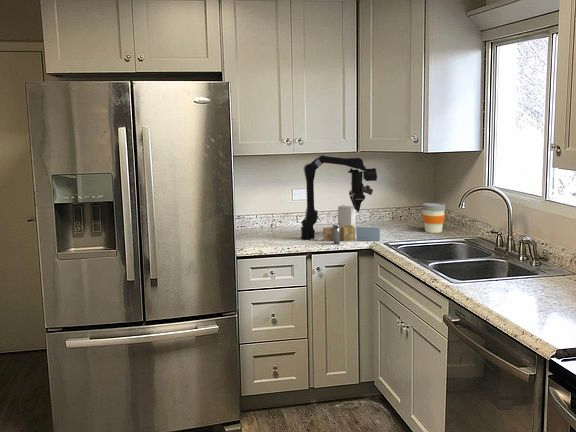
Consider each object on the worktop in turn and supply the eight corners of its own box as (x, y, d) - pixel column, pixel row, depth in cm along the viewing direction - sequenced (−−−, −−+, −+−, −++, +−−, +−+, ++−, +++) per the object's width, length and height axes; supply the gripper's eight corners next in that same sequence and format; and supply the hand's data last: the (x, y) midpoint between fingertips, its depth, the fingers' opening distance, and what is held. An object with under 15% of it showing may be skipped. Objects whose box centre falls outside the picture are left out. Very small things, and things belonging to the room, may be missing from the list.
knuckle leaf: (324, 242, 319) (324, 228, 318) (322, 239, 325) (322, 226, 324) (355, 240, 321) (354, 227, 320) (352, 238, 327) (352, 225, 326)
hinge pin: (333, 244, 312) (333, 225, 310) (332, 243, 315) (331, 224, 314) (341, 244, 312) (340, 225, 311) (339, 242, 316) (339, 224, 314)
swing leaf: (356, 239, 322) (356, 227, 321) (356, 239, 323) (356, 226, 322) (379, 240, 318) (379, 227, 317) (379, 240, 319) (379, 227, 318)
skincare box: (337, 234, 339) (336, 206, 336) (342, 232, 345) (341, 205, 342) (351, 235, 335) (351, 207, 333) (356, 233, 341) (355, 205, 338)
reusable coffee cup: (440, 233, 333) (440, 206, 331) (418, 232, 340) (418, 205, 338) (448, 230, 344) (448, 203, 341) (426, 228, 351) (427, 202, 348)
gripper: (374, 182, 318) (374, 212, 321) (369, 179, 337) (369, 207, 339) (353, 183, 318) (353, 213, 320) (348, 179, 336) (348, 208, 339)
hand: (356, 210), depth 330 cm, fingers open, 9 cm apart
